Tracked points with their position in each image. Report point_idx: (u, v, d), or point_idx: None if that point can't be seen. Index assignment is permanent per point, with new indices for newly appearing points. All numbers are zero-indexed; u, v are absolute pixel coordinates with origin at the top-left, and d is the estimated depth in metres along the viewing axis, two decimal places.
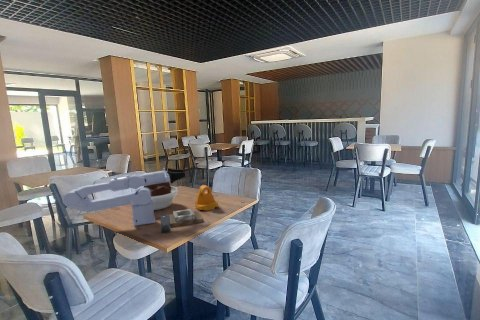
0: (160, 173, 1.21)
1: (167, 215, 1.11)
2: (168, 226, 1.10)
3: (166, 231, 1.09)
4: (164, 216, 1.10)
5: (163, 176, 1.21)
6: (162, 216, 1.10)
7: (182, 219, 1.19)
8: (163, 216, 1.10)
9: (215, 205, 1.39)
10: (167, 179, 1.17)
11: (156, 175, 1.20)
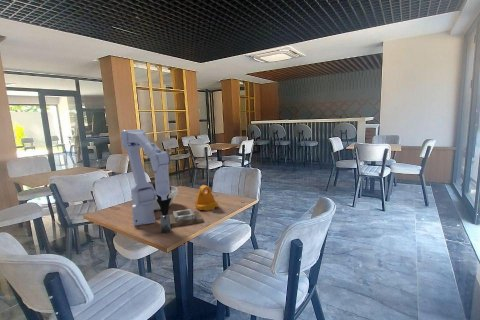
0: None
1: (167, 215, 1.11)
2: (168, 226, 1.10)
3: (166, 231, 1.09)
4: (164, 216, 1.10)
5: None
6: (162, 216, 1.10)
7: (182, 219, 1.19)
8: (163, 216, 1.10)
9: (215, 205, 1.39)
10: None
11: None
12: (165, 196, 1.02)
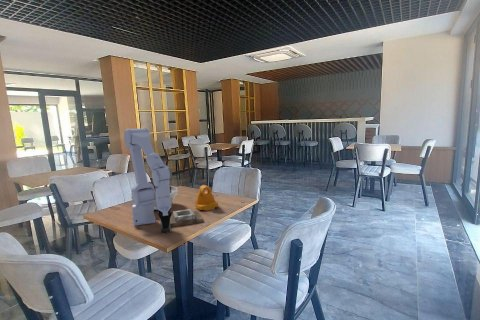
0: None
1: None
2: None
3: (166, 231, 1.09)
4: None
5: None
6: None
7: (182, 219, 1.19)
8: None
9: (215, 205, 1.39)
10: None
11: None
12: (166, 212, 1.03)
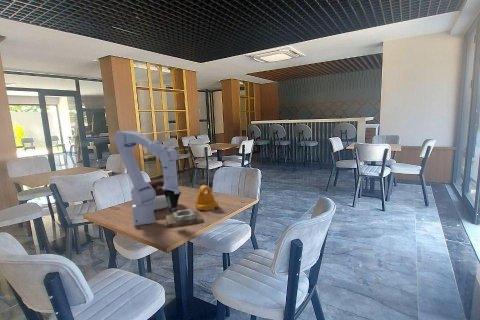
0: None
1: None
2: None
3: (174, 210, 1.14)
4: None
5: None
6: None
7: (182, 219, 1.19)
8: None
9: (215, 205, 1.39)
10: None
11: None
12: (178, 190, 1.08)
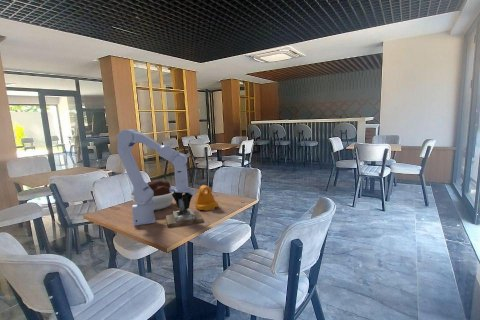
0: None
1: None
2: None
3: (186, 211, 1.22)
4: None
5: None
6: (181, 198, 1.21)
7: (182, 219, 1.19)
8: (182, 198, 1.21)
9: (215, 205, 1.39)
10: None
11: None
12: (194, 191, 1.18)
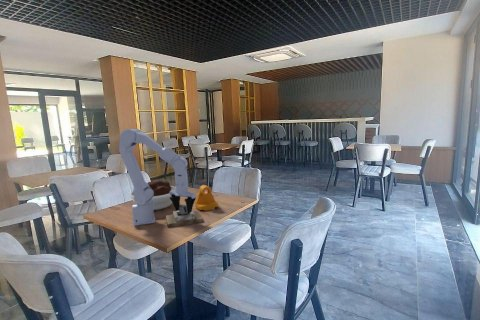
0: None
1: (184, 205, 1.23)
2: (187, 214, 1.23)
3: None
4: (184, 206, 1.22)
5: None
6: (182, 206, 1.21)
7: (182, 219, 1.19)
8: (183, 206, 1.22)
9: (215, 205, 1.39)
10: None
11: None
12: (195, 194, 1.19)
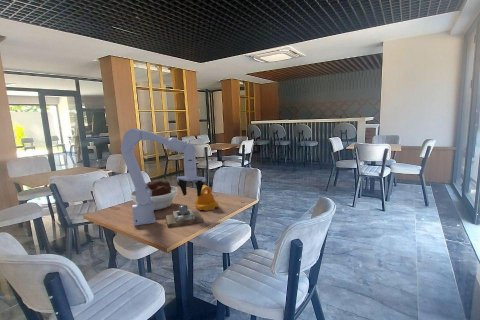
0: (185, 174, 1.24)
1: (184, 205, 1.23)
2: (187, 214, 1.23)
3: None
4: (184, 206, 1.22)
5: None
6: (182, 206, 1.21)
7: (182, 219, 1.19)
8: (183, 206, 1.22)
9: (215, 205, 1.39)
10: None
11: (184, 170, 1.25)
12: None
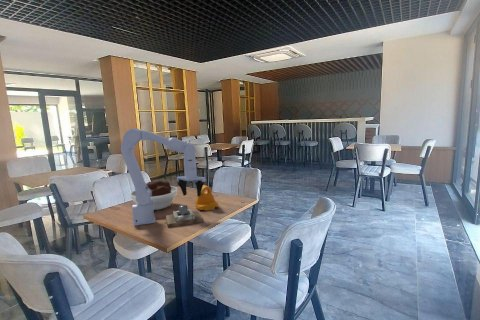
0: (185, 174, 1.24)
1: (184, 205, 1.23)
2: (187, 214, 1.23)
3: None
4: (184, 206, 1.22)
5: None
6: (182, 206, 1.21)
7: (182, 219, 1.19)
8: (183, 206, 1.22)
9: (215, 205, 1.39)
10: None
11: (184, 170, 1.25)
12: None
